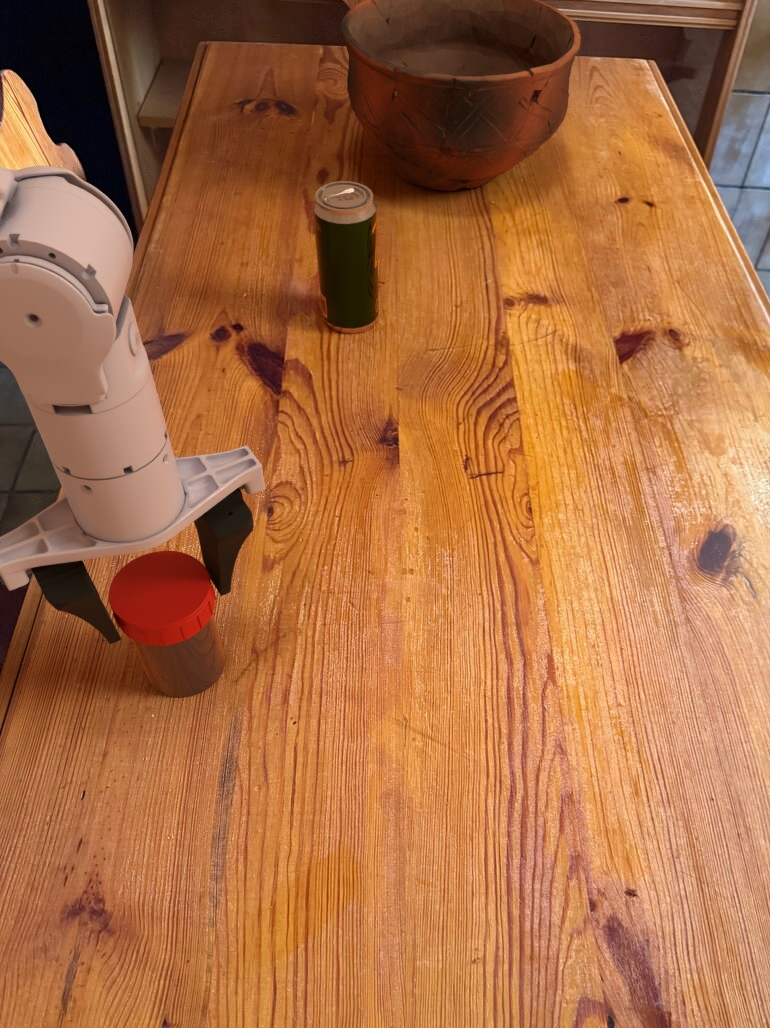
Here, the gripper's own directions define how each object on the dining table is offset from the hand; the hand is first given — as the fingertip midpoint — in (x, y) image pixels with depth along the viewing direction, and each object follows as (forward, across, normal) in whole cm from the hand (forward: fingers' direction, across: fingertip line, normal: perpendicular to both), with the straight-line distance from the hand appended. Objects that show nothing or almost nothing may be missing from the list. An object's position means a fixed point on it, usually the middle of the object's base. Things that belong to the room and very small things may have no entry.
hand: (165, 606), depth 55 cm
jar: (+6, 0, 0) cm, 6 cm away
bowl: (+7, -53, -48) cm, 72 cm away
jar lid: (-1, 0, 0) cm, 1 cm away
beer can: (+7, -29, -29) cm, 41 cm away
